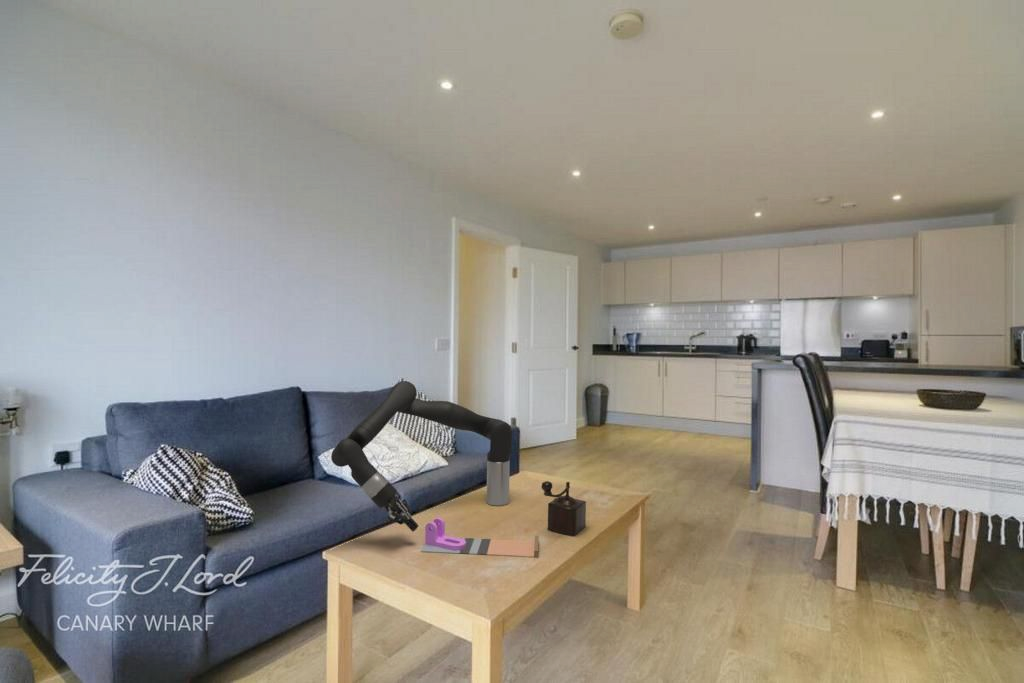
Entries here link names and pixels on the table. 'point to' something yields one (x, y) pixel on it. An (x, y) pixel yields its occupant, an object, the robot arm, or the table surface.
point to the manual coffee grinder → (565, 512)
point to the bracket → (442, 536)
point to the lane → (492, 547)
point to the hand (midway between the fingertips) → (415, 528)
